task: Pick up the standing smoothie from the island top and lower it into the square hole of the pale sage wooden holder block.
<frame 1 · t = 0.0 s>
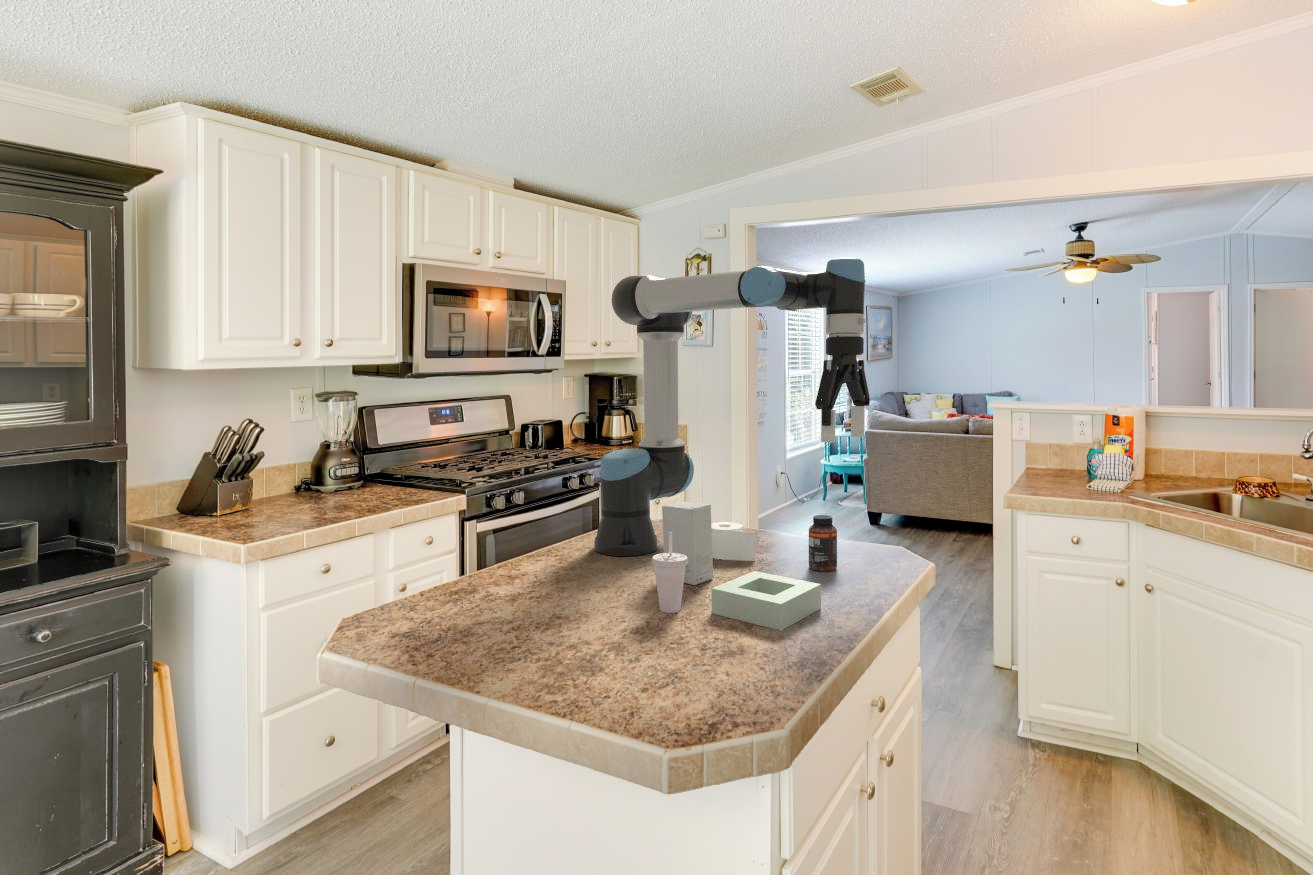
hand: (843, 439, 154), 28 cm above the counter, tool pointing down, fingers open, 13 cm apart
skincare box: (687, 580, 153), on the counter
holder block: (766, 610, 132), on the counter
toilet paper: (730, 557, 170), on the counter
smoothie: (670, 610, 134), on the counter
supplement bottle: (822, 569, 159), on the counter
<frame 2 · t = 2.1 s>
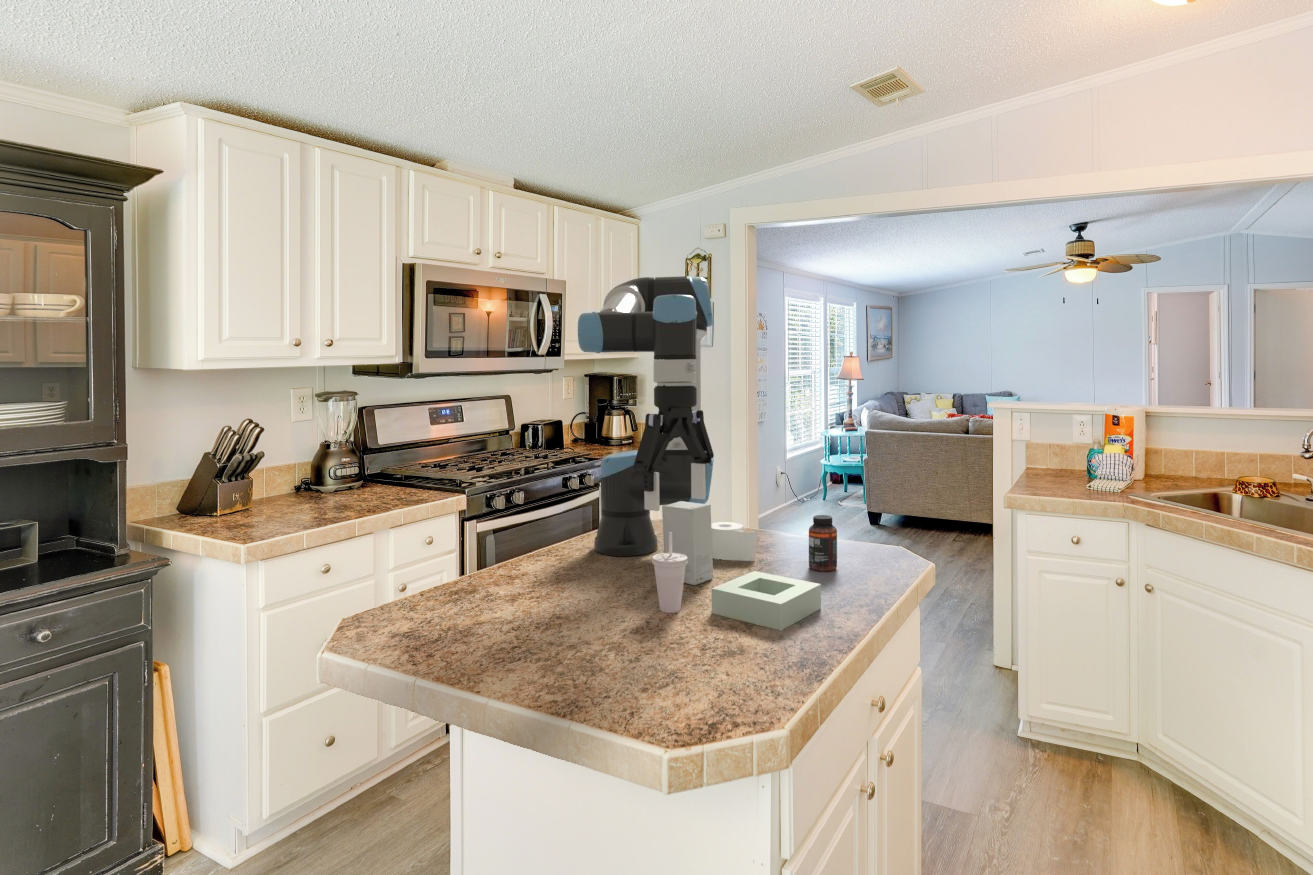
hand: (676, 504, 132), 19 cm above the counter, tool pointing down, fingers open, 13 cm apart
nothing on the counter moved.
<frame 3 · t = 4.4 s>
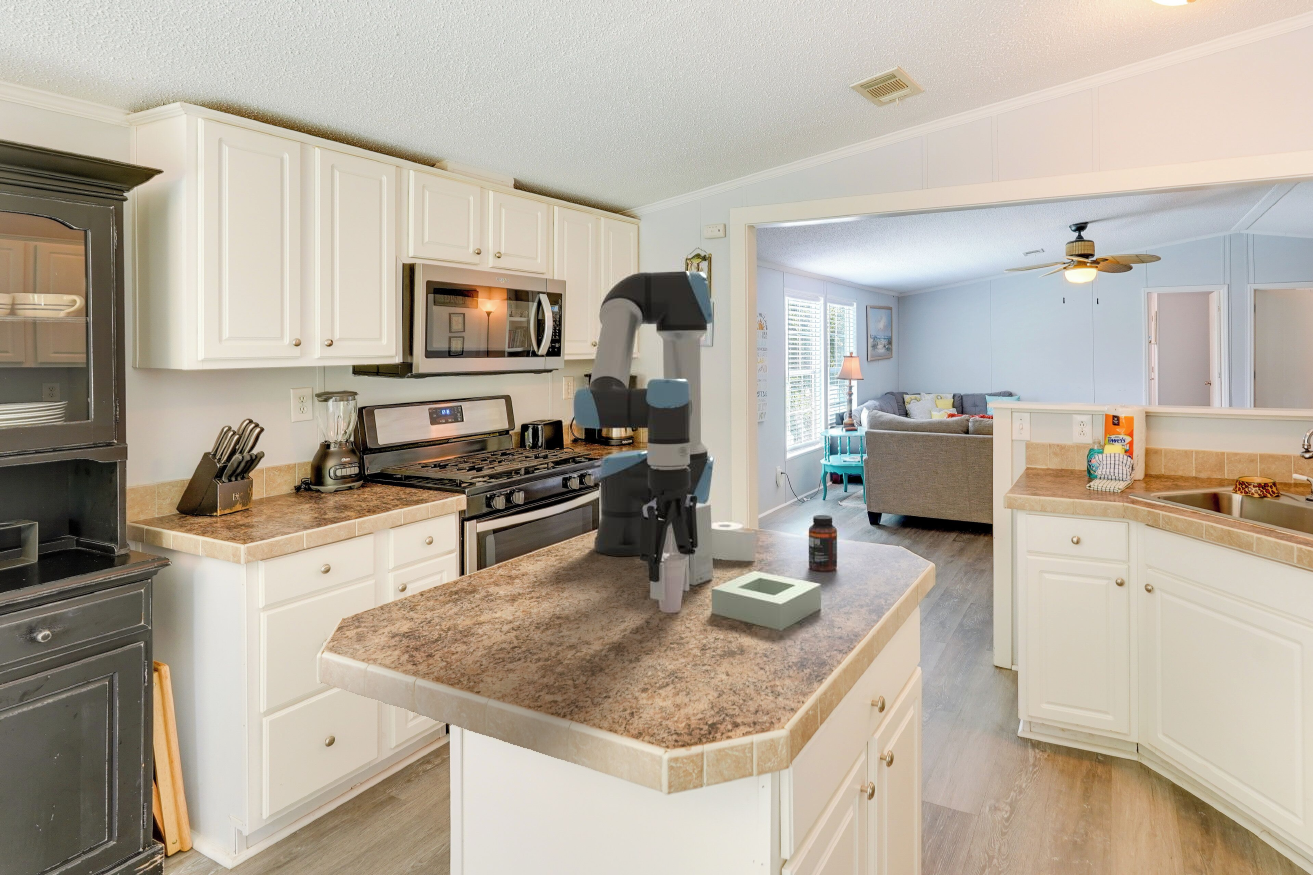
hand: (670, 593, 133), 3 cm above the counter, tool pointing down, fingers closed on smoothie, 6 cm apart
smoothie: (670, 610, 134), on the counter, touching gripper
everything else where it was.
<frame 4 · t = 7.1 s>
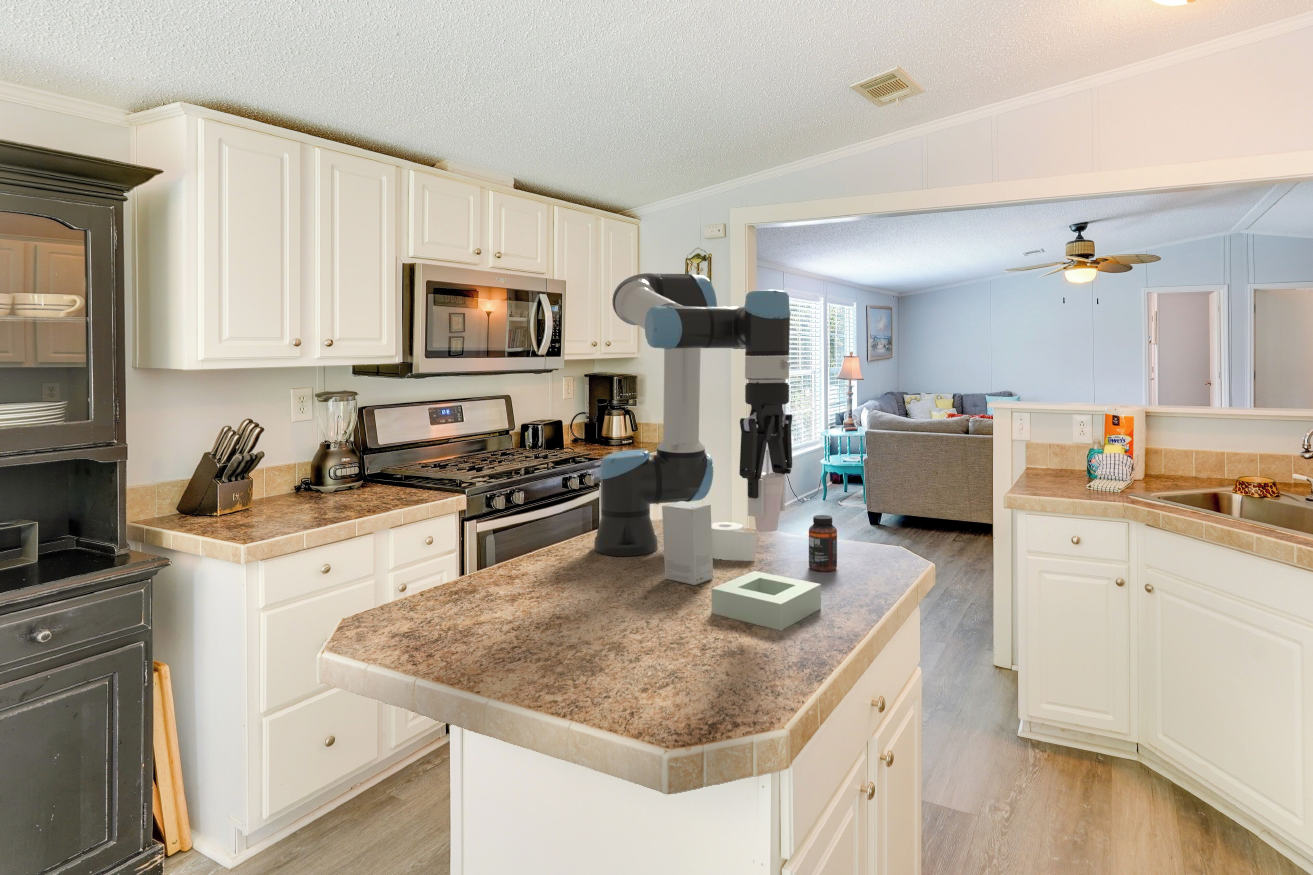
hand: (766, 512, 131), 18 cm above the counter, tool pointing down, fingers closed on smoothie, 6 cm apart
smoothie: (766, 530, 131), point 15 cm above the counter, touching gripper
everything else where it was.
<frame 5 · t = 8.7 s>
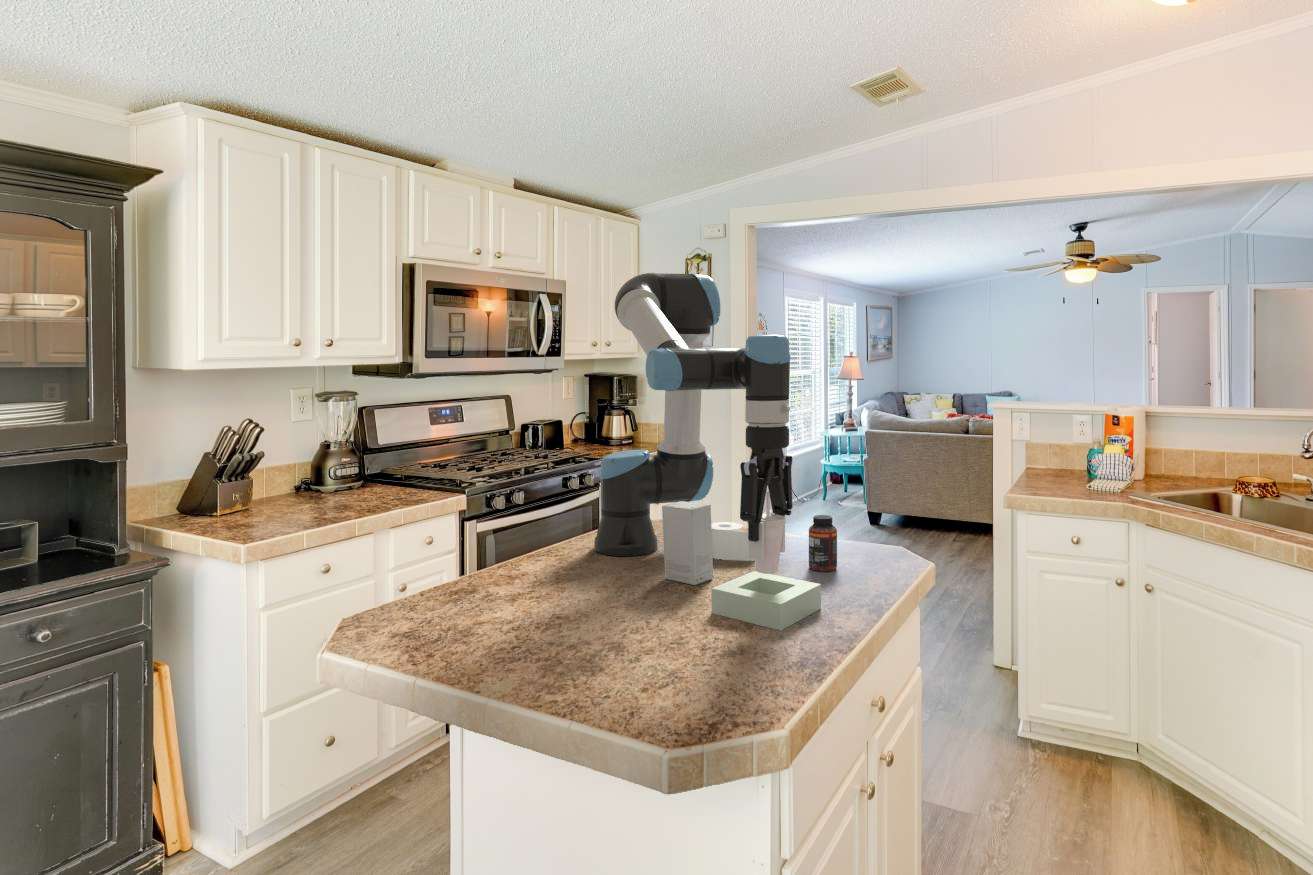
hand: (767, 554, 131), 10 cm above the counter, tool pointing down, fingers closed on smoothie, 6 cm apart
smoothie: (767, 572, 132), point 7 cm above the counter, touching gripper
everything else where it was.
when the fingers open (6 cm above the counter, at t = 10.1 s): smoothie drops 3 cm, resting in holder block.
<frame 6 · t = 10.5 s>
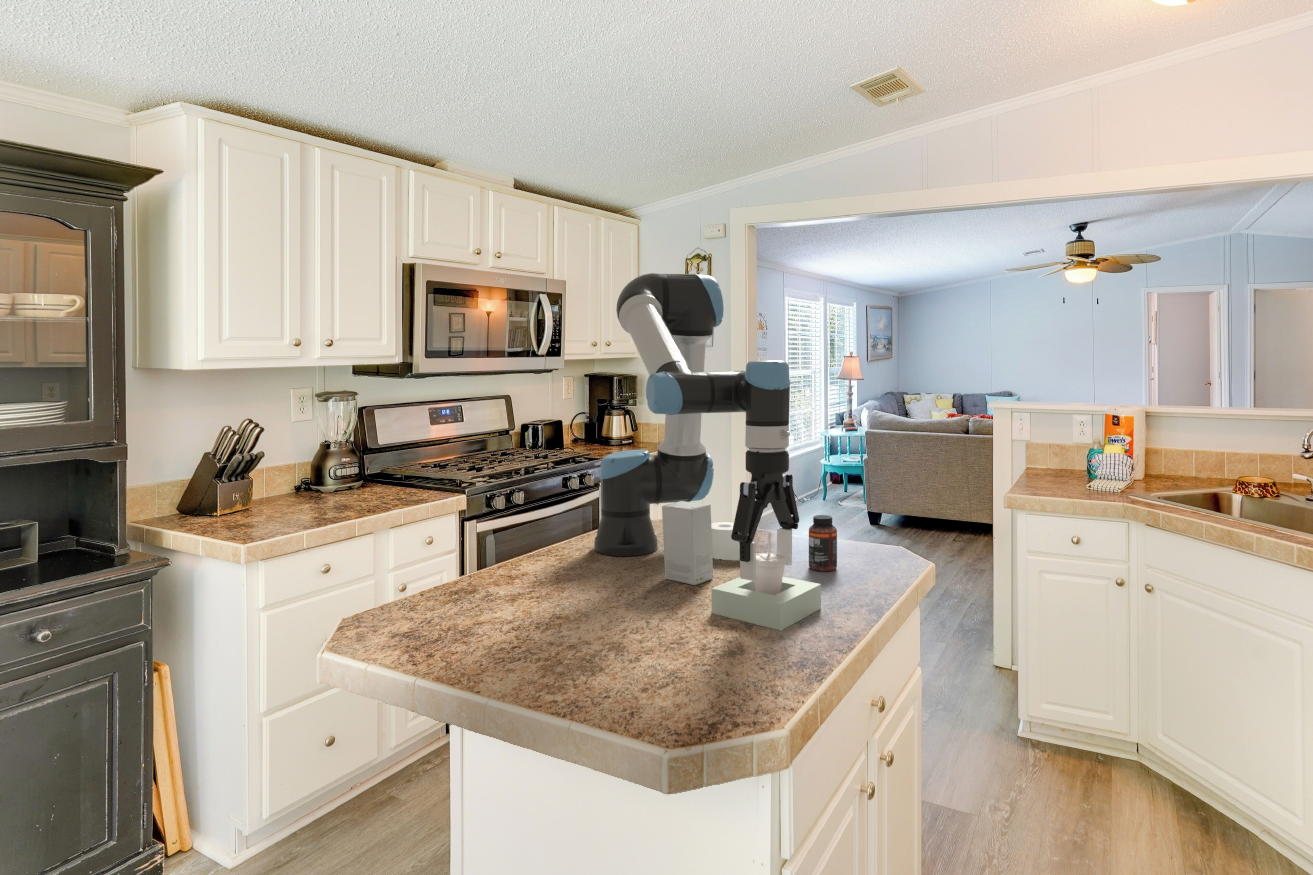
hand: (766, 571, 132), 7 cm above the counter, tool pointing down, fingers open, 11 cm apart
smoothie: (767, 611, 133), resting in holder block
everything else where it was.
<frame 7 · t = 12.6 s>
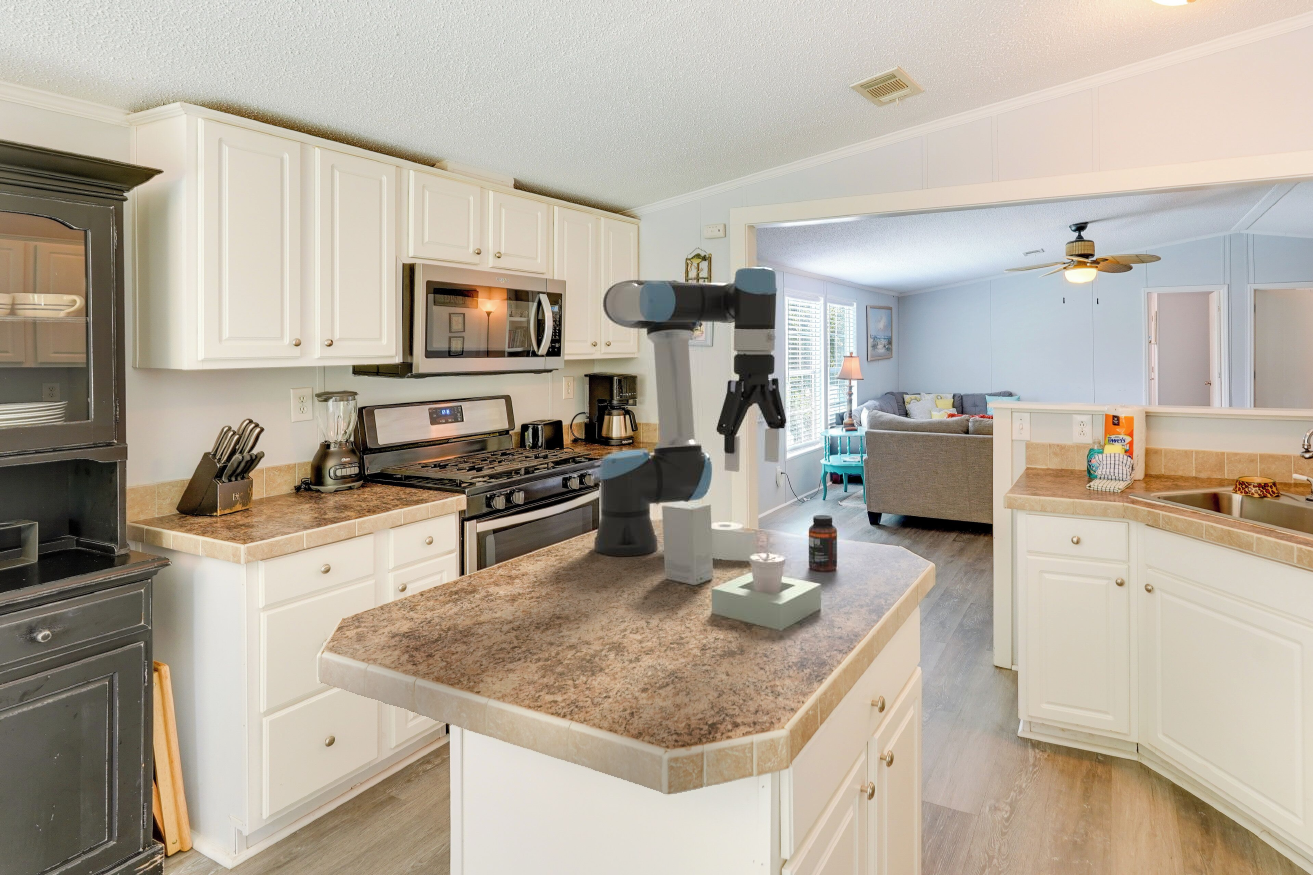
hand: (752, 466, 141), 25 cm above the counter, tool pointing down, fingers open, 13 cm apart
nothing on the counter moved.
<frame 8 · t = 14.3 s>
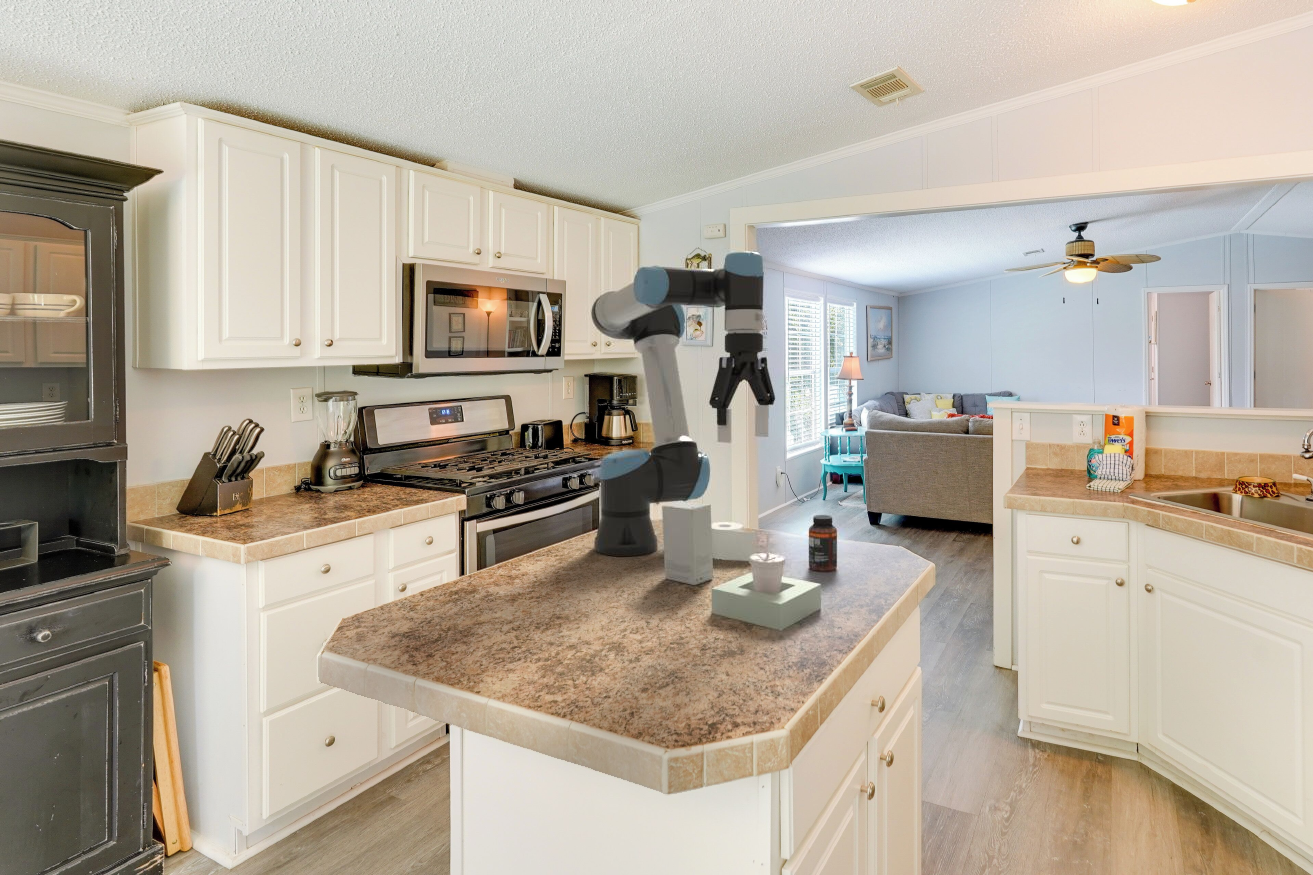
hand: (743, 439, 149), 29 cm above the counter, tool pointing down, fingers open, 13 cm apart
nothing on the counter moved.
at the end: smoothie 0.2 cm off-centre on the holder block, point 0.0 cm above the holder block's base; smoothie tilted 0°; the gripper is holding nothing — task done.
